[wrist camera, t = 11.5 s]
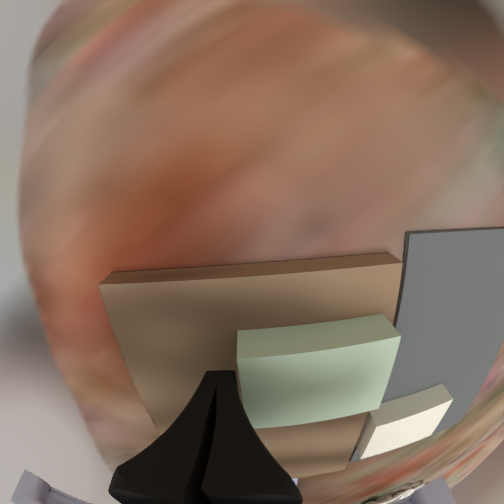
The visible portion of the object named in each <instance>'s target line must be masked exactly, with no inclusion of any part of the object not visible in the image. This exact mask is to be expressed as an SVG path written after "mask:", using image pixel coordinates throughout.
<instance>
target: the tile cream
mask: <svg viewBox="0 0 504 504" xmlns="http://www.w3.org/2000/svg"><path fill="white" fill-rule="evenodd" d="M452 401H453V398H452V396H451V395H450V393H449V392H448V391H447V389H446V388H445V387H444V385H443V384H439V385H437V386H434V387H431V388H429V389H426V390H423V391H420V392H417V393H414V394H411V395H408V396H405V397H402V398H398V399H395V400H391V401H388V402H384V403H381V404H380V406H379V408H378V409H375V410H371V411H368V414H367V417H366V420H365V422H364V425H363V427H362V430H361V433H360V435H359V438H358V440H357V442H356V448H357V451H358V454H359V457H360V459H363V458H367V457H371V456H374V455H377V454H381V453H384V452H387V451H390V450H393V449H396V448H399V447H402V446H405V445H407V444H410V443H413V442H415V441H418V440H420V439H423V438H425V437H427V436H430V435H431V434H432V433H433V431H434V430H435V428H436V427H437V425H438V424H439V422H440V421H441V419H442V417H443V416H444V414H445V413H446V411H447V409H448V408H449V406H450V404H451V402H452Z"/></svg>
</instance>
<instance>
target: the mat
mask: <svg viewBox="0 0 504 504" xmlns="http://www.w3.org/2000/svg"><path fill="white" fill-rule="evenodd" d="M393 326H394V327H395V329H396V330H397V331H398V332H399V334H400V335H401V339H400V343H399V347H398V350H397V354H396V358H395V361H394V364H393V368H392V371H391V374H390V377H389V381H388V384H387V387H386V390H385V392H384V395H383V398H382V401H381V403H384V402H388V401H391V400H395V399H398V398H402V397H405V396H408V395H411V394H414V393H417V392H420V391H423V390H426V389H429V388H431V387H434V386H437V385H439V384H443V385H444V387H445V388H446V389H447V391H448V392H449V393H450V395H451V396H452V398H453V401H452V402H451V404H450V406H449V408H448V409H447V411H446V413H445V414H444V416H443V417H442V419H441V421H440V422H439V424H438V425H437V427H436V428H435V430H434V431H433V433H432V434H431V435H433V434H435V433H437V432H440V431H442V430H444V429H446V428H448V427H450V426H452V425H454V424H456V423H458V422H460V421H461V419H462V418H463V416H464V415H465V413H466V411H467V410H468V408H469V407H470V405H471V403H472V402H473V400H474V398H475V397H476V395H477V393H478V391H479V390H480V388H481V386H482V384H483V382H484V380H485V379H486V377H487V375H488V373H489V371H490V369H491V367H492V365H493V363H494V360H495V358H496V356H497V354H498V352H499V349H500V347H501V345H502V342H503V340H504V227H500V228H478V229H458V230H438V231H420V232H406V236H405V248H404V257H403V266H402V274H401V281H400V288H399V294H398V300H397V306H396V311H395V316H394V321H393ZM431 435H430V436H431ZM427 437H428V436H427ZM425 438H426V437H425ZM423 439H424V438H423ZM420 440H421V439H420ZM418 441H419V440H418ZM415 442H416V441H415ZM413 443H414V442H413ZM410 444H411V443H410ZM407 445H409V444H407ZM405 446H406V445H405ZM402 447H403V446H402ZM399 448H401V447H399ZM396 449H398V448H396ZM393 450H395V449H393ZM390 451H392V450H390ZM387 452H389V451H387ZM384 453H386V452H384ZM381 454H383V453H381ZM377 455H379V454H377ZM374 456H376V455H374ZM371 457H373V456H371ZM367 458H369V457H367ZM363 459H366V458H363ZM358 460H362V459H360V457H359V454H358V451H357V448H356V445H355V447H354V450H353V452H352V454H351V456H350V459H349V461H350V462H354V461H358Z"/></svg>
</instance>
